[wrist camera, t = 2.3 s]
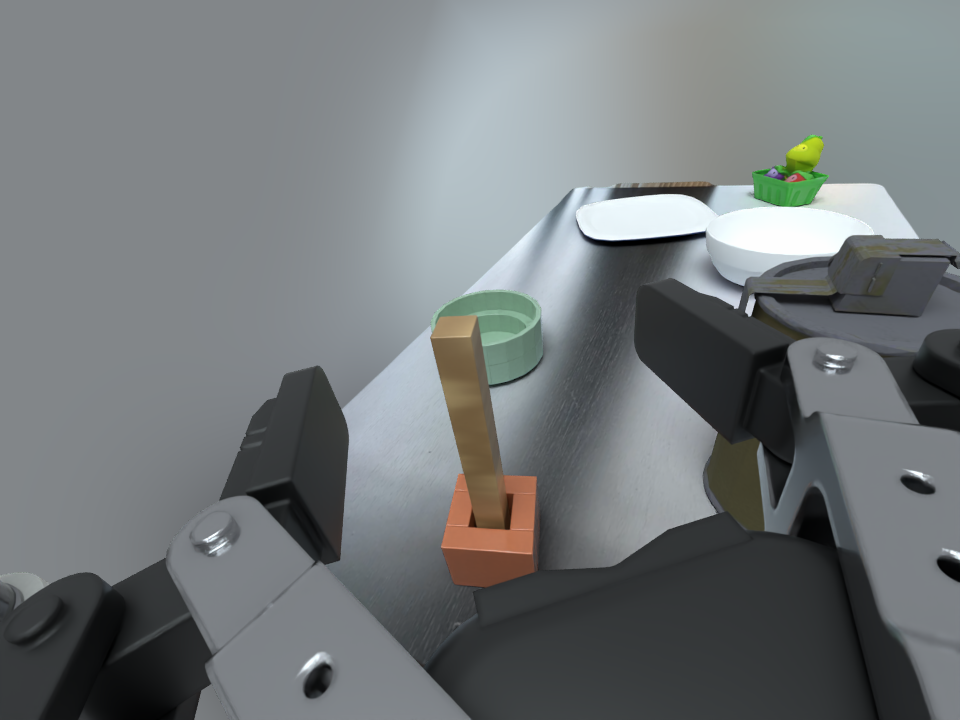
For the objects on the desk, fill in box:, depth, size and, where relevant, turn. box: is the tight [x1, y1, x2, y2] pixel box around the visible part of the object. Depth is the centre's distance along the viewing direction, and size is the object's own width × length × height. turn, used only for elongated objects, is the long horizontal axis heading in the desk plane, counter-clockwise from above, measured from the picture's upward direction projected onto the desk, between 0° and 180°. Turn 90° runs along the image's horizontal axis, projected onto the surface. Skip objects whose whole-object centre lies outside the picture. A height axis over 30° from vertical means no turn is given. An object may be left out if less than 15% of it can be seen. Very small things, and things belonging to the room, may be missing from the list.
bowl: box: [706, 207, 874, 286], centre depth 56 cm, size 18×18×7 cm
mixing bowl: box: [431, 290, 543, 385], centre depth 51 cm, size 13×13×6 cm
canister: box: [703, 235, 960, 531], centre depth 26 cm, size 11×10×20 cm
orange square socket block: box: [441, 474, 540, 587], centre depth 30 cm, size 6×6×5 cm
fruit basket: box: [752, 135, 829, 207], centre depth 79 cm, size 11×9×11 cm
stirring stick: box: [430, 315, 511, 530], centre depth 26 cm, size 2×2×20 cm
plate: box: [576, 194, 718, 242], centre depth 83 cm, size 25×25×2 cm
